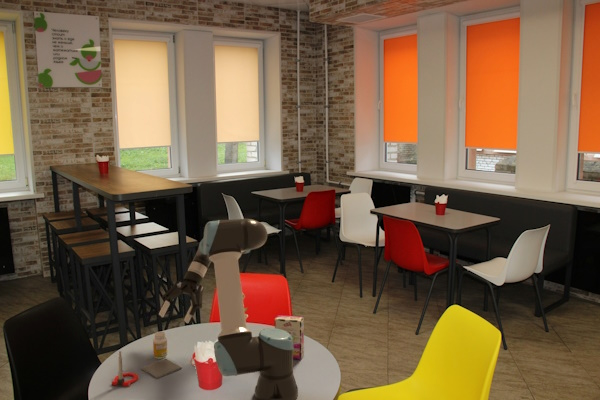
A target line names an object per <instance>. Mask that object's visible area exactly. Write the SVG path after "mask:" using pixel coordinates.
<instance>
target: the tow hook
mask: <svg viewBox="0 0 600 400" xmlns="http://www.w3.org/2000/svg"><path fill="white" fill-rule="evenodd" d="M125 377H131V379H128V380H126V381H125ZM138 380H139V375H138V374H137V373H134V372H123V357H122V351H120V350H119V351H118V374H117V375H116V376H114V379H113V380H112V381H111V386H118V387H130V386H131V384H133V383H135V382H137V381H138Z"/></svg>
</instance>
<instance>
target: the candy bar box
mask: <svg viewBox="0 0 600 400" xmlns="http://www.w3.org/2000/svg"><path fill="white" fill-rule="evenodd" d="M304 321H305V319H304V316H294V315H293V316H292V315H282V314H281V315H279V314H278V315H277V316H276V317H275V318H274V328H276V329H281V330H284V331H286V332H288V333H289V334H290V335H291V336H292V338H293V347H294V349H293V360H297V361H298V360H299V361H301V360H302V359H303V357H304V354H305V335H304V334H305V329H304V328H305V326H304V325H305V324H304Z"/></svg>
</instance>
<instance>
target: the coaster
mask: <svg viewBox="0 0 600 400" xmlns="http://www.w3.org/2000/svg"><path fill="white" fill-rule="evenodd" d="M182 368H183V367H182V366H180V365H178V364H177V363H175V362H173V361H172V360H169V359H168V358H162V359H160V360H158V361H155V362H152V363H151V364H148V365H145V366H142V367H141V368H140V369H141V370H142V371H144V372H145V373H147V374H149V375H150V376H151V377H153V378H154V379H156V380H157V379H161V378H163V377H165V376H167V375H170V374H172V373H175V372H177V371H181V370H182Z"/></svg>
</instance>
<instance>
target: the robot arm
mask: <svg viewBox="0 0 600 400" xmlns="http://www.w3.org/2000/svg"><path fill="white" fill-rule="evenodd" d="M267 239H268V230H267V228H266V226H264V224H263V223H261V222H260V221H258V220H255V219H252V218H237V219H235V218H233V219H218V220H212V221H211V220H210V221H208V222H207V223H206V224H205V225H204V230H203V238H202V239H201V240H200V242H199V244H198V248H197V251H196V254H195V255H194V258H193V259H192V261H191V263H190V264H189V267H188V269H187V271H186V273H185V274H184V277H183V281H182V282H181V281H179V280H176V281H175V283H174V284H173V286H171V287H170V288H169V289H168V290H167V291H165V293H164V294H163V295H162V296H161V299H162V300H163V302H162V304H161V308H160V311H159V313H158V315H159V316H160V317H161V318H164V316H165V314H166V312H167V311H168V309H169V307H170V305H171V303H170V302H172V301H173V300H175V299H176V298H177V297H179V296H180V295H183V294H184V295H188V296H190V301H191V305H190V306H189V308H188V310H187V312H186V314H185V316H184V319H183V321H184V322H185V323H186V324H189V322H190V321H191V319H192V317H193V316H194V315H195V314H196V311H197V310H198V309H202V308H203V294H204V290H205V288H204V287H203V286H202V285H201V283H202V281H203V279H204V278H205V275H206V273H207V270H208V269H209V266H210V265H211V263H213V267H214V274H215V275H214V277H215V284H216V293H217V303H218V310H219V313H218V314H219V320H220V329H221V331H220V332H219V334H218V335H217V341H215V342H214V343H213V350H214V351H213V352H214V357H215V361H216V362H215V363H216V366H217V368H218V370H219V372H220V374H221V375H222V376H224V377H231V376H234V377H238V376H240V375H241V376H242V375H246V374H247V375H248V374H251V373H252V374H253V373H259V376H258V379H257V382H256V385H255V388H254V397H255V399H256V400H297V398H298V396H299V387H298V385H297V382H296V378H295V375H294V359H293V349H294V347H293V338H292V336H291V335H290V334H289V333H288V332H286V331H284V330H281V329H276V328H275V327H274V328H273V327H272V328H271V327H268V328H263V329H262V330H260V331H259V333H258V336H253V334H252V330H250V329H249V328H248V327H247V321H246V320H247V319H246V320H245V314H246V313H245V312H244V309H245V305H244V299H243V296H242V293H243V290H242V289H243V288H242V283H241V274H240V267H239V266H240V265H239V259H240V258H241V257H242V255H244V254H249V253H250V252H251V250H256V249H259V248H261V247H262V246H263V245H265V244H266V242H267V241H268V240H267ZM196 291H197V292H196Z"/></svg>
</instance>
